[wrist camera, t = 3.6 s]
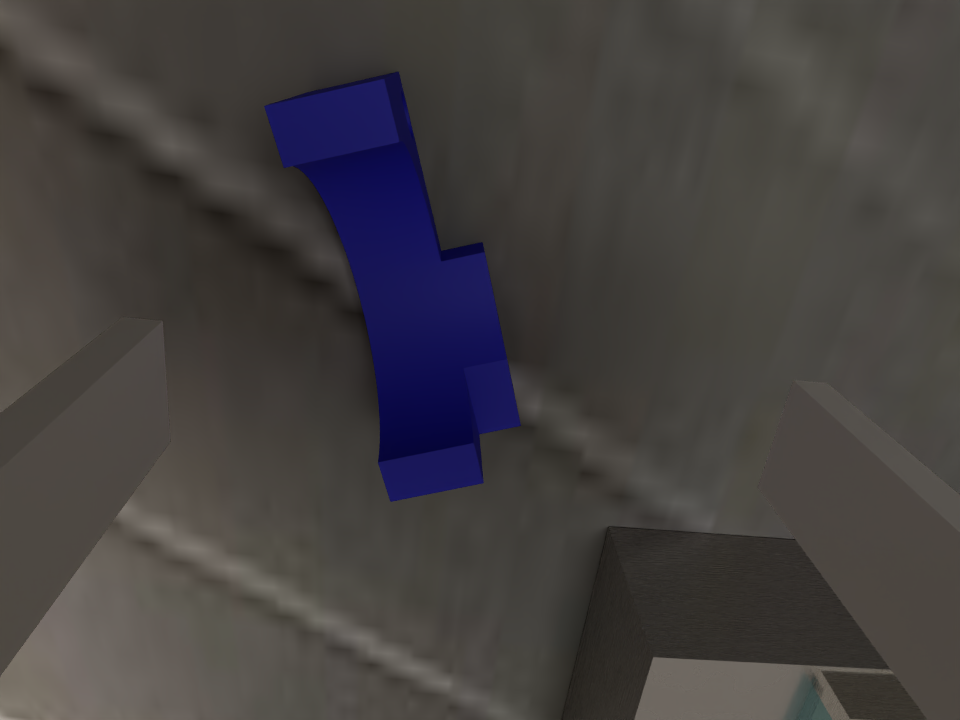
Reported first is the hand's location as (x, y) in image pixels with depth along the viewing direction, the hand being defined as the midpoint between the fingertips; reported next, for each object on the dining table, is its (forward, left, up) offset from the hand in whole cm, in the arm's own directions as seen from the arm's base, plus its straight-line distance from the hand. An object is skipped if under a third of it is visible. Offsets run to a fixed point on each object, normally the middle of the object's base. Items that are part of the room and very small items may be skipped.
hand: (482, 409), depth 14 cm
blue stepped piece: (-2, 0, -12) cm, 12 cm away
